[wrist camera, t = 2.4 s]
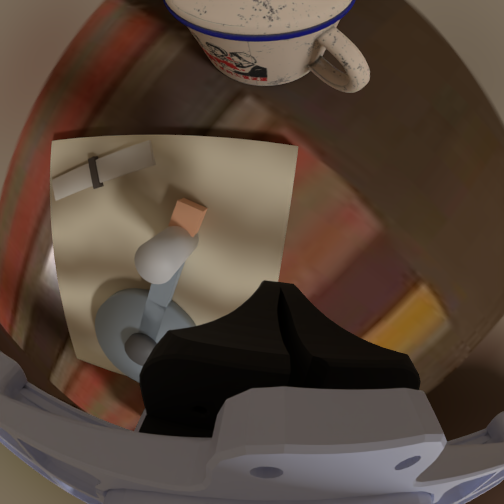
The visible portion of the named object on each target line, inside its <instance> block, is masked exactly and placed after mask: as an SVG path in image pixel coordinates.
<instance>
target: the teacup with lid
mask: <svg viewBox="0 0 504 504" xmlns="http://www.w3.org/2000/svg"><path fill="white" fill-rule="evenodd" d="M163 1H164V4H165V6H166V7H167V9H168V10H169V12H170V13H171V14H172V15H173V16H174V17H175V18H176V19H177V20H178V21H180V22H181V23H182V24H184V25H186V26H187V27H188V29H189V30H190V32H191V33H192V34H193V36H194V37H195V39H196V40H197V42H198V43H199V44H200V46H201V47H202V49H203V50H204V52H205V53H206V55H207V56H208V58H209V59H210V61H211V62H212V63H213V65H214V66H215V67H216V68H217V69H218V70H220V71H221V72H222V73H224V74H225V75H227V76H228V77H230V78H232V79H234V80H237V81H239V82H243V83H246V84H251V85H258V86H272V85H280V84H284V83H288V82H291V81H294V80H296V79H298V78H300V77H302V76H304V75H305V74H307V73H308V72H309V71H312V72H313V73H314V74H315V75H316V76H317V77H319V78H320V79H321V80H322V81H324V82H325V83H326V84H328V85H329V86H331V87H333V88H335V89H337V90H340V91H343V92H348V93H353V92H356V91H359V90H360V89H361V88H363V87H364V86H365V85H366V84H367V83H368V81H369V79H370V71H369V67H368V65H367V62H366V60H365V58H364V57H363V55H362V54H361V52H360V51H359V50H358V48H357V47H356V46H355V45H354V44H353V43H352V42H351V41H350V40H349V39H348V38H347V37H346V36H345V35H344V34H343V33H341V32H340V31H339V30H338V29H337V28H336V27H337V25H338V22H339V20H340V19H341V18H342V17H343V16H345V15H346V14H347V13H348V11H349V10H350V9H351V8H352V6H353V4H354V3H355V0H163ZM325 49H327V50H328V51H329V52H330V53H331V54H333V55H334V56H335V57H336V59H337V60H338V61H339V62H340V63H341V65H342V66H343V67H344V69H345V71H346V73H347V74H345V73H343V72H341V71H340V70H338V69H337V68H335V67H334V66H333V65H331V64H330V63H329V62H328V61H327V60H326V59H324V58H323V57H322V56H323V53H324V51H325Z"/></svg>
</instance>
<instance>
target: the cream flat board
mask: <svg viewBox="0 0 504 504" xmlns="http://www.w3.org/2000/svg"><path fill="white" fill-rule="evenodd" d="M297 153H298V146H293V145H286V144H279V143H271V142H264V141H255V140H246V139H235V138H223V137H209V136H190V135H115V136H97V137H84V138H73V139H64V140H55V141H52V148H51V166H50V208H51V226H52V238H53V248H54V257H55V264H56V271H57V277H58V283H59V289H60V294H61V299H62V304H63V309H64V313H65V317H66V322H67V326H68V329H69V333H70V337H71V341H72V344H73V347H74V351H75V354H76V357H77V358H78V359H80V360H83V361H85V362H88V363H90V364H93V365H96V366H99V367H101V368H104V369H107V370H110V371H113V372H116V373H119V374H122V375H125V374H124V373H122V372H121V371H120V370H119V369H118V368H117V367H115V366H114V365H113V363H112V362H111V361H110V360H109V359H108V358H107V356H106V355H105V353H104V352H103V350H102V348H101V346H100V344H99V342H98V339H97V336H96V332H95V318H96V314H97V312H98V309H99V308H100V306H101V305H102V304H103V303H104V302H105V301H106V300H107V299H108V298H109V297H110V296H111V295H113V294H114V293H116V292H118V291H120V290H124V289H129V288H141V289H146V290H150V287H151V284H152V283H150V282H148V281H146V280H145V279H143V278H142V277H141V276H140V274H139V273H138V271H137V269H136V267H135V261H134V258H135V253H136V251H137V249H138V248H139V247H140V246H141V245H142V244H144V243H145V242H147V241H148V240H150V239H151V238H153V237H154V236H155V235H157V234H158V233H160V232H161V231H163V230H164V229H166V228H167V227H169V226H168V225H169V222H170V220H171V217H172V214H173V211H174V208H175V206H176V203H177V200H180V199H182V198H186V199H188V200H190V201H193V202H195V203H197V204H199V205H202V206H204V207H206V208H208V209H207V211H206V214H205V216H204V219H203V221H202V224H201V226H200V229H199V231H198V238H199V241H198V245H197V247H196V249H195V250H194V251H193V252H192V254H191V255H190V256H189V257H188V258H187V260H186V261H185V264H184V266H183V269H182V272H181V275H180V277H179V280H178V283H177V286H176V289H175V291H174V294H173V297H172V301H173V302H175V303H176V304H177V305H178V306H180V307H181V308H182V309H183V310H184V311H185V312H186V313H187V314H188V315H189V316H190V317H191V319H192V320H193V321H194V323H195V324H196V326H198V325H201V324H205V323H208V322H211V321H214V320H216V319H218V318H221V317H223V316H225V315H227V314H229V313H231V312H232V311H234V310H235V309H237V308H238V307H239V306H241V305H242V304H243V303H244V302H245V301H246V300H248V299H249V298H250V297H251V296H252V294H253V293H254V292H255V291H256V290H257V289H258V287H259V286H260V284H261V282H262V281H264V280H267V281H275V282H278V278H279V272H280V266H281V260H282V254H283V248H284V242H285V236H286V229H287V223H288V216H289V210H290V203H291V196H292V189H293V182H294V175H295V168H296V160H297ZM125 376H127V375H125Z"/></svg>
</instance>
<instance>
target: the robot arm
mask: <svg viewBox="0 0 504 504" xmlns="http://www.w3.org/2000/svg"><path fill="white" fill-rule="evenodd" d="M139 380H140V388H141V393H142V397H143V401H144V406H145V409H144V411H143V413H142V415H141V418H140V420H139V422H138V424H137V426H136V428H135V430H134V431H131V430H128V429H125V428H122V427H119V426H117V425H114V424H111V423H109V422H106V421H104V420H101V419H99V418H97V417H94V416H92V415H90V414H87V413H85V412H83V411H81V410H79V409H77V408H74V407H72V406H70V405H68V404H66V403H64V402H62V401H60V400H59V399H57V398H55V397H53V396H51V395H49V394H47V393H46V392H44V391H42V390H40V389H39V388H37V387H35V386H34V385H32V384H30V383H29V382H27V379H26V376H25V374H24V372H23V370H22V368H21V367H20V366H19V364H18V363H17V362H15V361H14V360H13V359H11V358H10V357H8V356H7V355H5V354H4V353H2V352H1V351H0V442H1V443H2V444H3V445H4V446H6V447H7V448H8V449H9V450H10V451H12V452H13V453H14V454H15V455H16V456H17V457H19V458H20V459H21V460H23V461H24V462H25V463H26V464H28V465H29V466H30V467H32V468H33V469H34V470H36V471H37V472H38V473H40V474H41V475H42V476H44V477H45V478H47V479H48V480H50V481H51V482H53V483H54V484H56V485H57V486H59V487H60V488H62V489H63V490H65V491H67V492H68V493H70V494H72V495H73V496H75V497H77V498H78V499H80V500H82V501H84V502H86V504H465V503H466V502H468V501H470V500H472V499H474V498H476V497H477V496H479V495H481V494H482V493H484V492H486V491H488V490H489V489H491V488H493V487H494V486H496V485H497V484H499V483H500V482H501V481H502V480H504V412H501V413H500V414H498V415H497V416H496V417H495V418H494V419H493V420H492V421H491V422H490V423H489V425H488V426H487V428H486V429H484V430H481V431H478V432H475V433H473V434H470V435H467V436H464V437H461V438H458V439H454V440H451V441H448V442H447V441H446V438H445V436H444V433H443V431H442V429H441V426H440V424H439V422H438V420H437V418H436V416H435V414H434V412H433V409H432V408H431V405H430V403H429V401H428V399H427V397H426V395H425V393H424V391H420V390H419V387H420V377H419V374H418V372H417V370H416V368H415V367H414V365H413V363H412V361H411V359H410V358H409V356H408V355H407V354H403V353H400V352H396V351H393V350H389V349H386V348H383V347H380V346H378V345H375V344H373V343H370V342H368V341H366V340H363V339H361V338H359V337H357V336H355V335H354V334H352V333H350V332H348V331H346V330H345V329H343V328H341V327H340V326H338V325H337V324H336V323H334V322H333V321H331V320H330V319H329V318H327V317H326V316H325V315H324V314H323V313H322V312H320V311H319V310H318V309H317V308H316V307H315V306H314V305H313V304H312V303H311V302H310V301H309V300H308V299H307V298H306V297H305V296H304V295H303V294H302V292H301V291H300V290H299V289H298V288H297V287H296V286H295V285H294V284H290V283H282V282H275V281H267V280H264V281H262V282H261V284H260V286H259V287H258V289H257V290H256V291H255V292H254V293H253V294H252V296H251V297H250V298H249V299H248V300H246V301H245V302H244V303H243V304H242V305H241V306H239V307H238V308H237V309H235V310H234V311H232V312H231V313H229V314H227V315H225V316H223V317H221V318H218V319H216V320H214V321H211V322H208V323H205V324H201V325H198V326H194V327H188V328H182V329H175V330H168V331H167V332H166V334H165V335H164V336H163V337H162V338H161V339H160V341H159V342H158V343H157V344H156V346H155V347H154V348H153V350H152V352H151V353H150V355H149V357H148V358H147V360H146V362H145V363H144V365H143V367H142V370H141V372H140V374H139Z"/></svg>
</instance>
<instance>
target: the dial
mask: <svg viewBox="0 0 504 504" xmlns="http://www.w3.org/2000/svg"><path fill="white" fill-rule="evenodd" d="M207 209H208V208H206V207H204V206H202V205H199V204H197V203H195V202H193V201H190V200H188V199H186V198H182V199H180V200H177V203H176V206H175V208H174V211H173V214H172V217H171V220H170V222H169V225H168V226H169V227H167V228H166V229H164V230H163V231H161V232H160V233H158V234H157V235H155V236H154V237H153V238H151V239H150V240H148V241H147V242H145V243H144V244H142V245H141V246H140V247H139V248H138V249H137V251H136V253H135V258H134V261H135V267H136V269H137V271H138V273H139V274H140V276H141V277H142V278H143V279H145V280H146V281H148V282H150V283H152V284H151V287H150V290H146V289H141V288H129V289H124V290H120V291H118V292H116V293H114V294H113V295H111V296H110V297H109V298H108V299H107V300H106V301H105V302H104V303H103V304H102V305H101V306H100V308H99V309H98V312H97V314H96V318H95V332H96V336H97V339H98V342H99V344H100V346H101V348H102V350H103V352H104V353H105V355H106V356H107V358H108V359H109V360H110V361H111V362H112V363H113V365H114V366H115V367H117V368H118V369H119V370H120V371H121V372H122V373H124V374H125V375H127V376H128V377H130V378H131V379H133V380H135V381H137V382H139V383H140V380H139V374H140V372H141V370H142V367H143V365H144V363H145V362H146V360H147V358H148V357H149V355H150V353H151V352H152V350H153V348H154V347H155V346H156V344H157V343H158V342H159V341H160V339H161V338H162V337H163V336H164V335H165V334H166V332H167V331H168V330H175V329H182V328H188V327H194V326H196V324H195V323H194V321H193V320H192V319H191V317H190V316H189V315H188V314H187V313H186V312H185V311H184V310H183V309H182V308H181V307H180V306H178V305H177V304H176V303H175V302H173V301H172V297H173V294H174V291H175V289H176V286H177V283H178V280H179V277H180V275H181V272H182V269H183V266H184V264H185V261H186V260H187V258H188V257H189V256H190V255H191V254H192V252H193V251H194V250H195V249H196V247H197V245H198V241H199V238H198V231H199V229H200V226H201V224H202V221H203V219H204V216H205V214H206V211H207Z"/></svg>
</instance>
